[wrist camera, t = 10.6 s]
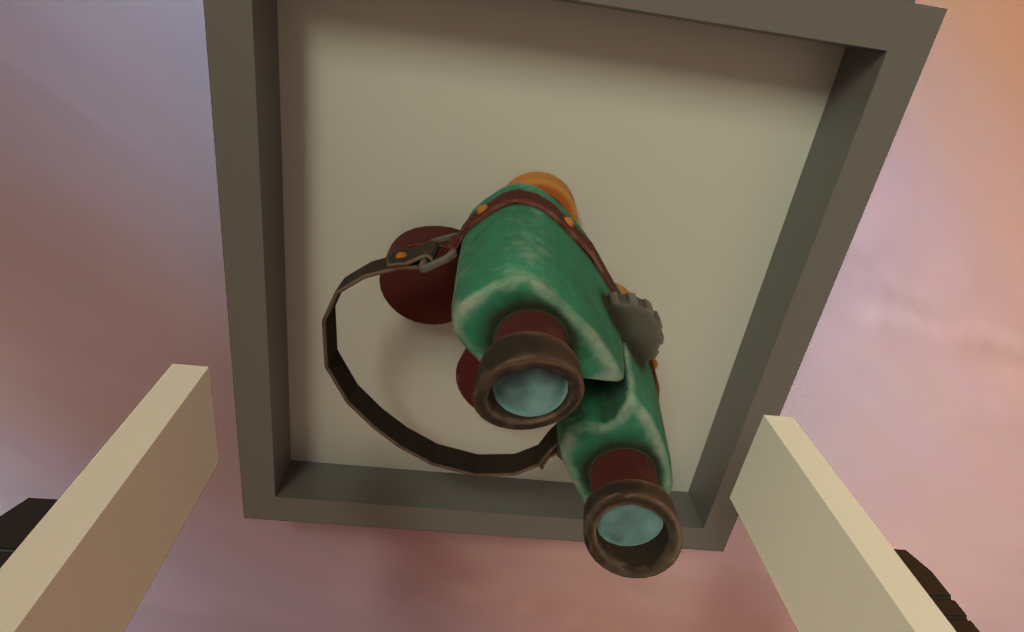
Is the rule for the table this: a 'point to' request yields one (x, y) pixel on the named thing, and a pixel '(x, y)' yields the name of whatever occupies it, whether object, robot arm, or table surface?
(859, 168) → the case
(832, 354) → the table surface
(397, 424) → the binoculars
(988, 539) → the table surface
